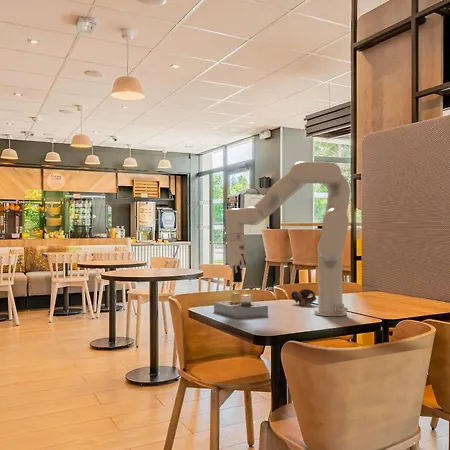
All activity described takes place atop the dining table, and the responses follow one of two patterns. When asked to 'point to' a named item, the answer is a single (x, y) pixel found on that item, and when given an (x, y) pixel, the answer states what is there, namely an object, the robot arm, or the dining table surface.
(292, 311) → the dining table surface
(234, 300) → the bushing
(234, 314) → the jig
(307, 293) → the brown animal figurine
